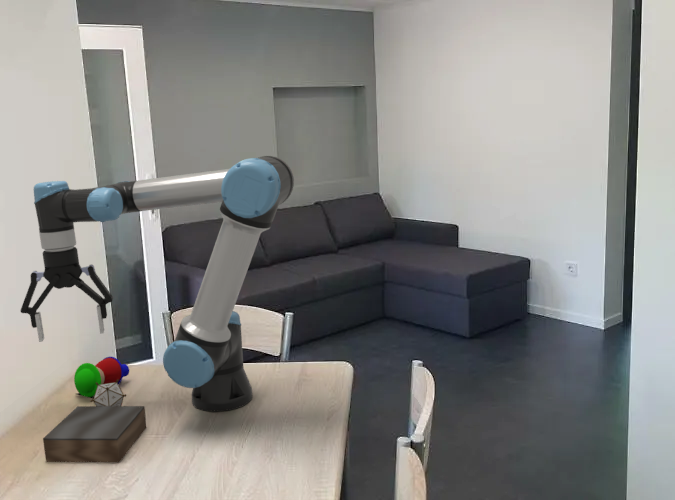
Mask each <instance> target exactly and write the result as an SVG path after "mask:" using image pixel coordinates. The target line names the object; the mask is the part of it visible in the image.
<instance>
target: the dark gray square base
mask: <svg viewBox="0 0 675 500" xmlns="http://www.w3.org/2000/svg"><path fill="white" fill-rule="evenodd" d="M146 429H147V418H146V409H145V405H143V406H142V405H135V406H134V405H128V406H127V405H121V406H96V405H93V406H91V405H90V406H89V405H88V406H86V405H85V406H84V405H83V406H79V405H78V406H76V407H75V408H74V409H73V410H72V411H71V412H70V413H69V414H68V415H66V417H64V418H63V419H62V420H61V421H59V423H58V424H57V425H56V426H55V427H54V428H53V429H51V431H49V432H48V433H47V434H46V435H45V436H44V437H43V438H42V441H43V448H44V449H43V450H44V457H45V463H121V461H122V460H123V459H124V458H125V456H126V455H127V454H128V452H129V451H130V450H131V448H133V446H134V445H135V443H136V442H137V441H138V440H139V438H140V437H141V436H142V434H143V433H144V432H145V430H146Z"/></svg>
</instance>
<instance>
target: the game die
mask: <svg viewBox="0 0 675 500" xmlns="http://www.w3.org/2000/svg"><path fill="white" fill-rule="evenodd" d="M118 381H119V380H117V381H116V382H114V383H107V384H101V385H99V384H98V383H97V382H96V385H98V386H97V389H96V392H95V396H94V399H92V398H91V399H90V400H89V402H90V403H93V404H94V406H123V402H124V401H123V400H124V398H126V397H127V396H128V394H125V393H124V392H123V391H122V388H121V387H120V384H118V383H117V382H118Z"/></svg>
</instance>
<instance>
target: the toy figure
mask: <svg viewBox="0 0 675 500" xmlns="http://www.w3.org/2000/svg"><path fill="white" fill-rule="evenodd" d="M75 370H76V371H75V372H74V379H73V381H74V386H75V389H76V390H77V392H78V393H75V395H77V396H80V397H81V396H82V397H85V398H89V399H91V400H92V399H94V396H95V392H96V389H97V386H98V385H96V382H97V383H98V384H99V385H101V384H107V383H114V382H116V381H117V380H119V381H118V382H117V383H118V385H120V383H122V381H123V378H124V377H127V376H129V373H130V368H129V366H128V365H127V364H125V363H123V364H122V363H121V362H120V360H119V359H118V358H116V357H114V356H107V357H104V358H103V359H102V360H100V361H99V362H98V363H96V364H95V365H94V364H93V363H89V362H84V363H82V364H80V365H79V366H78V367H77V369H75Z"/></svg>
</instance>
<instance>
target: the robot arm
mask: <svg viewBox="0 0 675 500" xmlns="http://www.w3.org/2000/svg"><path fill="white" fill-rule="evenodd" d="M294 186H295V179H294V174H293V171H292V169H291V167H290V166H289V164H288V163H286V162H285V161H284V160H283V159H281V158H279V157H277V156H273V155H263V156H259V157H251V158H245V159H243V160H240V161H238V162H236V163H235V164H234V165H232V166H231V167H230V168H225V169H218V170H210V171H209V170H208V171H203V172H202V171H201V172H195V173H194V172H193V173H185V174H178V175H172V176H171V175H170V176H163V177H155V178H148V179H147V178H146V179H140V180H139V179H138V180H132V181H129V180H124V181H120V182H116V183H112V184H107V185H101V186H96V187H92V188H91V187H90V188H79V189H71V188H70V187H69V183H68V182H67V181H65V180H57V181H56V180H55V181H53V180H52V181H43V182H39V183H36V184H35V185H34V186H33V197H34V202H33V205H34V207H35V211H36V218H37V222H38V232H39V238H40V247H41V249H43V252H42V258H43V266H44V271H37V270H33V271H32V272H31V274H30V283H29V286H28V289H27V292H26V294H25V297H24V300H23V302H22V305H21V308H20V313H21V314H27V315H29V317H30V323H31V324H30V325H31V328H33V329H34V328H36V331H37V336H38V342H44V339H45V334H44V328H43V321H42V315H41V311H38V310H39V308H40V307H41V305H42V303H43V302H44V301H45V299H46V298H47V297H48V295H49V294H50V293H51V292H52V289H53V288H56V289H57V290H59V289H60V290H61V289H64V288H72V287H74V286H75V287H77V288H78V289H80V290H81V291H82V292H83V293H84V294H86V295H87V296H89V298H91V299H92V300H93V301H94V302H95V303H97V305H96V313H97V321H98V326H99V327H98V328H99V334H104V333H105V325H104V319H107V317H108V310H107V304H109V303H111V302H113V299H114V297H113V295H112V294H111V292H110V291H109V289H108V288H107V287H106V286H105V284H104V283H103V281H102V280H101V279H100V277H99V275H98V274H97V273H96V269H95V266H94V265H93V264H89V265H88V266H83V267H82V266H81V264H80V260H79V253H78V248H77V247H76V245H77V237H76V233H75V226H74V225H75V224H74V223H92V222H93V223H95V222H100V223H104V222H105V223H106V222H109V221H110V222H111V221H117V220H118V219H119V218H120V216H121V215H123V214H129V213H131V214H132V213H138V212H139V213H140V212H147V211H154V210H155V211H157V210H162V209H163V210H164V209H174V208H182V207H191V206H198V205H199V206H200V205H207V204H217V203H218V204H219V203H221V204H220V207H219V209H218V210H219V213H220V215H221V217H222V220H223V221H222V223H221V226H220V229H219V232H218V234H217V237H216V240H215V243H214V246H213V249H212V252H211V254H210V257H209V261H208V264H207V267H206V270H205V273H204V275H203V279H202V280H201V281H202V282H201V284H200V286H199V287H200V288H199V289H198V293H197V295H196V298H195V302H194V304H193V307H192V310H191V314H189V315H187V316H184V317H183V318H182V319H181V321H180V324H179V328H178V330H177V333H176V336H175V339H174V341H173V342H171V343H170V344H169V345H168V346H167V348H166V349H165V351H164V353H163V357H162V362H163V363H162V364H163V368H164V371H165V372H166V374H167V375H168V377H169V379H171V380H172V381H173V382H174V383H175V384H177V385H179V386H180V387H184V388H187V389H188V388H189V389H191V390H192V391H191V404H192V406H193V407H194V408H195V409H198V410H201V411H204V412H205V411H206V412H224V411H231V410H235V409H238V408H242V407H243V406H245V405H247V404H248V403H250V402H251V400H252V398H253V389H252V385H251V383H250V380H249V378H248V375H247V372H246V371H245V368H244V354H243V353H244V352H243V340H242V339H243V337H242V323H241V317H240V314H239V313H238V312H237V311H234V309H235V306H236V303H237V300H238V298H239V294H240V292H241V289H242V287H243V285H244V284H243V283H244V281H245V278H246V275H247V273H248V269H249V267H250V264H251V262H252V259H253V256H254V253H255V252H256V248H257V245H258V242H259V239H260V237H261V234H262V233H263V232H265V231H268V230H270V229H271V227H272V225H273V224H272V223H273V221H274V219H275V217H276V213H277V210H278V208H279V206H280V205H282V204H284V203H285V202H286V201H287V200H288V199H289V198H290V197H291V195H292V193H293V190H294ZM83 273H84V274H85V275H86V276H89V277H90V280H91V281H92V283H94V285H95V286H96V288H97V289H98V290H99V292H100V293H101V295H102V296H103V297H102V296H101V295H100V294H99V293H98V292H96V291H95V290H94V289H93V288H92V287H90V286H89V285H88V283H85V281H84V280H83V279H82V278H81V276H82V274H83ZM42 278H44V279H45V280H46V281H47V282H48V284H47V286H46V287H45V289H44V290H43V292H42V293H41V294H40V295H39V297H38V298H37V300H36V301H35V303H34V304H33V306H30V304H31V301H32V299H33V297H34V296H33V295H34V294H35V292H36V288H37V285H38V282H40V281H41V280H42Z"/></svg>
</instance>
